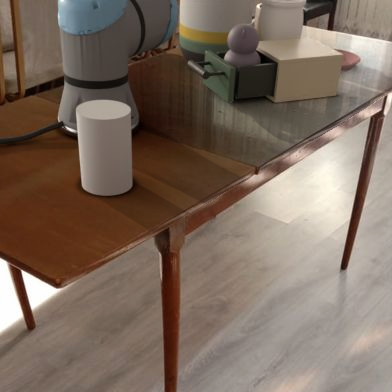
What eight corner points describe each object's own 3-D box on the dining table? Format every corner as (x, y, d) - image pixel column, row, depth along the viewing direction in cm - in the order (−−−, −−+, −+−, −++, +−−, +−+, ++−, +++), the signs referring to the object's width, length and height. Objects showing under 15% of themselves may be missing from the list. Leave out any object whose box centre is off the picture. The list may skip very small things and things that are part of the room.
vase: (259, 71, 150) (271, -47, 134) (193, 76, 144) (198, -45, 129) (230, 50, 161) (238, -60, 146) (168, 55, 156) (170, -59, 141)
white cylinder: (133, 173, 105) (131, 100, 97) (131, 196, 99) (129, 120, 91) (84, 172, 104) (78, 99, 96) (79, 194, 98) (72, 118, 90)
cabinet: (274, 102, 134) (280, 60, 128) (245, 82, 143) (249, 41, 137) (336, 95, 139) (343, 54, 133) (304, 76, 148) (310, 37, 142)
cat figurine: (227, 76, 139) (232, 17, 131) (262, 81, 138) (268, 21, 130) (217, 88, 133) (220, 26, 125) (253, 93, 131) (259, 31, 124)
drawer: (205, 105, 128) (207, 70, 124) (182, 85, 137) (183, 52, 132) (288, 95, 135) (292, 62, 130) (261, 77, 143) (264, 45, 139)
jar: (296, 61, 157) (305, -7, 147) (297, 74, 149) (307, 3, 140) (254, 57, 158) (260, -10, 148) (253, 70, 150) (259, 0, 140)
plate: (290, 63, 155) (291, 54, 154) (321, 52, 164) (323, 44, 162) (339, 77, 148) (340, 69, 147) (369, 66, 157) (371, 57, 155)
